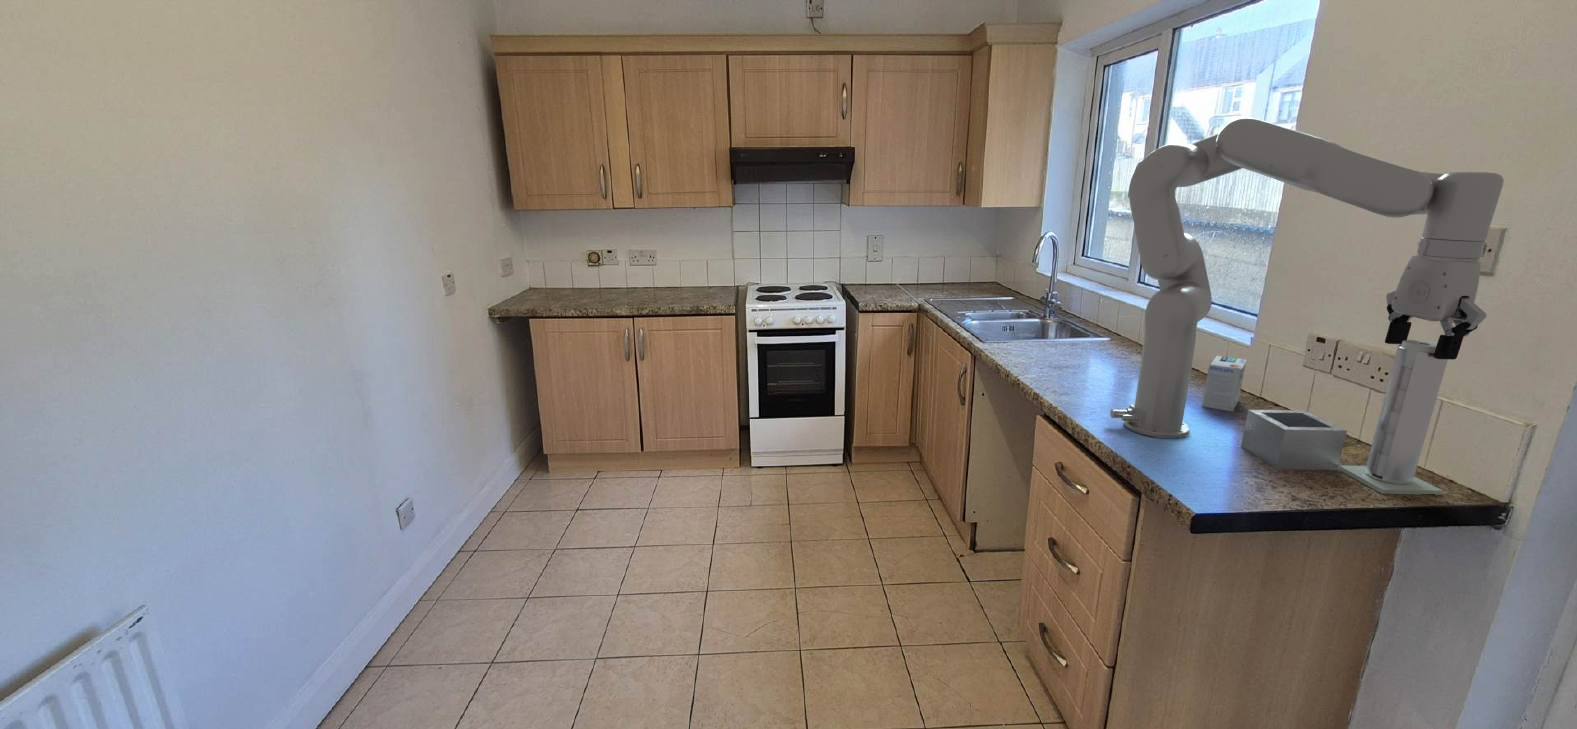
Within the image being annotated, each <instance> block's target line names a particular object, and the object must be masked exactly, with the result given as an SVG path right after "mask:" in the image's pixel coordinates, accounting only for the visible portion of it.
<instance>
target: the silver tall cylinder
mask: <svg viewBox="0 0 1577 729" xmlns="http://www.w3.org/2000/svg"><path fill="white" fill-rule="evenodd" d="M1437 343H1438V342H1432V341H1424V340H1416V339H1415V340H1414V339H1407V340H1405V341H1402V344H1398V345H1397V349H1396V352H1395V356H1394V359H1393V364H1392V368H1391V371H1390V374H1389V378H1388V382H1387V387H1386V389H1385V393H1384V396H1383V400H1382V404H1381V409H1380V413H1379V415H1378V420H1377V422H1376V423H1377V424H1376V427H1375V430H1374V431H1375V432H1374V435H1373V439H1372V441H1371V442H1372V443H1371V445H1370V446H1371V447H1370V449H1369V454H1368V457H1367V461H1366V465H1365V466H1366V468H1365V473H1366V474H1367V475H1368V476H1370V477H1372V478H1375V479H1377V480H1380V481H1384V482H1388V483H1393V484H1401V485H1406V484H1411V483H1412V481H1413V478H1414V476H1415V475H1416V470H1417V467H1418V464H1419V461H1420V457H1421V455H1422V454H1421V453H1422V451H1423V450H1422V449H1423V446H1424V443H1425V440H1426V436H1427V434H1428V430H1429V426H1430V422H1431V419H1432V415H1433V412H1434V409H1435V405H1436V401H1437V398H1438V396H1439V391H1440V388H1441V385H1442V381H1443V378H1444V374H1445V371H1446V367H1447V364H1448V360H1449V359H1436V358H1434V353H1435V349H1436V346H1437Z"/></svg>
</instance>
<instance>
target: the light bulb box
mask: <svg viewBox="0 0 1577 729" xmlns="http://www.w3.org/2000/svg"><path fill="white" fill-rule="evenodd" d="M1247 360H1248V359H1245V358H1237V357H1236V358H1235V357H1229V356H1222V355H1215V356H1214V357H1213V360H1212V361H1211V362H1210V364H1209V365H1208V369H1207V376H1206V381H1205V385H1204V386H1205V387H1204V392H1203V398H1202V403H1201V407H1203V408H1204V407H1205V408H1209V409H1211V408H1212V409H1216V410H1219V411H1220V410H1221V411H1226V412H1231V411H1232V413H1233V412H1234V410H1235V408H1236V406H1237V405H1238V403H1239V399H1240V394H1241V390H1242V385H1243V378H1244V376H1245V369H1246V364H1247Z"/></svg>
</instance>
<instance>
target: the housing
mask: <svg viewBox="0 0 1577 729" xmlns="http://www.w3.org/2000/svg"><path fill="white" fill-rule="evenodd" d="M1347 432H1348V430H1346V429H1345V428H1342V427H1340V426H1338V425H1336V424H1334V423H1332V422H1329V421H1327V420H1326V419H1323V418H1321V417H1319V416H1317V415H1316V414H1313V413H1311V412H1309V411H1307V410H1296V409H1295V410H1293V409H1292V410H1289V409H1288V410H1287V409H1286V410H1285V409H1247V414H1246V419H1245V424H1244V430H1243V435H1242V439H1241V444H1240V447H1241V448H1243V450H1246V451H1247V452H1248V453H1250V454H1252V455H1254V456H1255V457H1257V458H1259V459H1260V460H1262V461H1263V462H1265V463H1266V464H1268V465H1269V466H1271V467H1272V468H1274V469H1275V470H1297V471H1299V470H1302V471H1306V470H1307V471H1339V470H1338V468H1339V465H1340V461H1341V457H1342V452H1343V449H1344V445H1345V440H1346V436H1347Z"/></svg>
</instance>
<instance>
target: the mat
mask: <svg viewBox="0 0 1577 729" xmlns="http://www.w3.org/2000/svg"><path fill="white" fill-rule="evenodd" d="M1365 468H1366V465H1342V464H1341V465H1340V464H1339V466H1338V470H1337V471H1340V472H1342V473H1343V474H1345V475H1347V476H1349V477H1351V478H1353V479H1355V480H1356V481H1358V482H1360V483H1362V484H1363V485H1366V486H1367V487H1369V488H1371V489H1373V490H1374V491H1376V492H1378V493H1379V494H1383V495H1385V494H1386V495H1388V494H1389V495H1421V494H1435V495H1434V496H1442V495H1443V493H1444V490H1442V489H1441V488H1439V487H1437V486H1434V485H1433V484H1431V483H1429V482H1426V481H1425V480H1422V479H1421V478H1418V477H1416V476H1415V475H1414V478H1413V481H1412V483H1411V484H1406V485H1401V484H1393V483H1388V482H1384V481H1380V480H1377V479H1375V478H1372V477H1370V476H1368V475H1367V474H1366V473H1365Z"/></svg>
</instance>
